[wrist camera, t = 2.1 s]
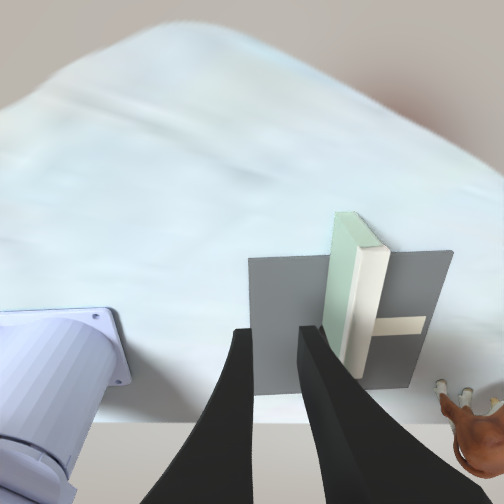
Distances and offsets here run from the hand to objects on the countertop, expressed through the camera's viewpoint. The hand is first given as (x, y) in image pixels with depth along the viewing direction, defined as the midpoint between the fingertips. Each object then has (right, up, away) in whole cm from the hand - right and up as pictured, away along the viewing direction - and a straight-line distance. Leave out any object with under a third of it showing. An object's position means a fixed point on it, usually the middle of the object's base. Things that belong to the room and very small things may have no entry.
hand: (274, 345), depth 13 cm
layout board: (+6, -2, +13) cm, 14 cm away
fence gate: (+5, +2, +9) cm, 11 cm away
